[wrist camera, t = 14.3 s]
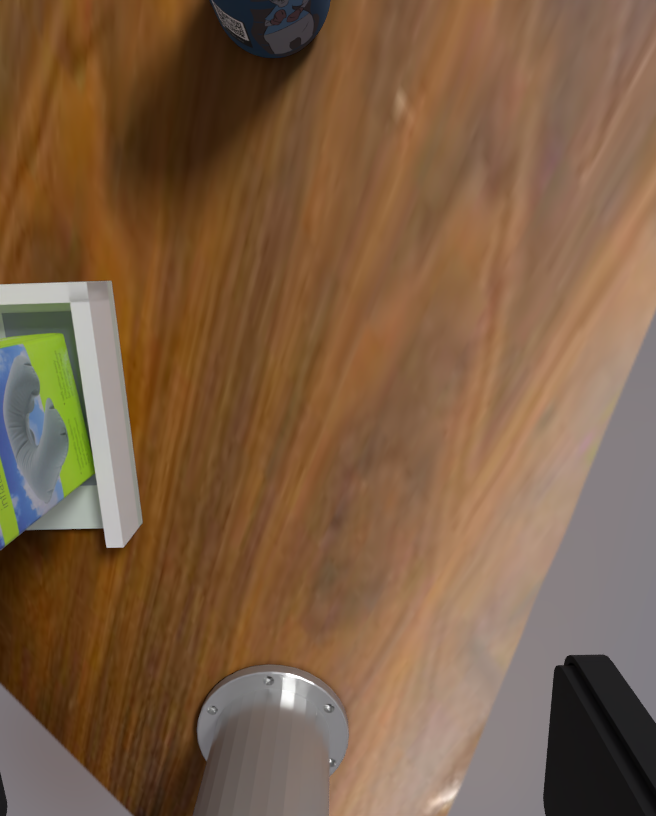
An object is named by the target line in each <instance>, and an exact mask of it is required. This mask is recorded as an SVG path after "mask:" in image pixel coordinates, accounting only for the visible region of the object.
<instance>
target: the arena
mask: <svg viewBox="0 0 656 816" xmlns="http://www.w3.org/2000/svg"><path fill="white" fill-rule="evenodd" d="M45 333H62V334H63V335H64V338H65V343H66V347H67V351H68V355H69V360H70V364H71V368H72V372H73V376H74V380H75V384H76V388H77V392H78V397H79V401H80V405H81V410H82V414H83V418H84V423H85V427H86V431H87V435H88V440H89V444H90V448H91V452H92V456H93V461H94V467H95V474H94V475H93V476H91V477H90V478H89V479H87V480H86V481H85V482H84V483H83V484H81V485H80V486H79V487H78V488H76V489H75V490H74V491H73V492H71V493H70V494H69V495H68V496H66V497H65V498H64V499H63V500H62V501H60V502H59V503H58V504H57V505H56V506H54V507H53V508H52V509H51V510H50V511H48V512H47V513H46V514H45V515H43V516H42V517H41V518H40V519H38V520H37V521H36V522H35V523H33V524H32V525H31V526H30V527H29V528H27V529H26V530H48V529H92V528H104V534H105V541H106V548H122V547H124V546H125V545H126V544H127V542H128V541H129V540H130V538H131V537H132V536H133V535H134V533H135V532H136V531H137V529H138V528H139V527H140V525H141V524H142V523H143V522H142V514H141V506H140V498H139V490H138V483H137V475H136V467H135V459H134V452H133V444H132V436H131V428H130V420H129V413H128V405H127V397H126V389H125V382H124V374H123V366H122V358H121V351H120V343H119V335H118V327H117V319H116V312H115V304H114V296H113V288H112V281H88V282H58V283H27V284H0V339H2V338H7V337H13V336H23V335H34V334H45Z"/></svg>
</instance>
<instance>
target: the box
mask: <svg viewBox="0 0 656 816" xmlns="http://www.w3.org/2000/svg"><path fill="white" fill-rule="evenodd" d="M94 474H95V467H94V461H93V456H92V452H91V448H90V444H89V440H88V435H87V431H86V427H85V423H84V418H83V414H82V410H81V405H80V401H79V397H78V392H77V388H76V384H75V380H74V376H73V372H72V368H71V364H70V360H69V355H68V351H67V347H66V343H65V338H64V335H63V334H62V333H45V334H34V335H23V336H13V337H7V338H2V339H0V550H2V549H3V548H4V547H5V546H7V545H8V544H9V543H10V542H11V541H13V540H14V539H15V538H16V537H18V536H19V535H20V534H21V533H22V532H24V531H25V530H26V529H27V528H29V527H30V526H31V525H32V524H33V523H35V522H36V521H37V520H38V519H40V518H41V517H42V516H43V515H45V514H46V513H47V512H48V511H50V510H51V509H52V508H53V507H54V506H56V505H57V504H58V503H59V502H60V501H62V500H63V499H64V498H65V497H66V496H68V495H69V494H70V493H71V492H73V491H74V490H75V489H76V488H78V487H79V486H80V485H81V484H83V483H84V482H85V481H86V480H87V479H89V478H90V477H91V476H93V475H94Z"/></svg>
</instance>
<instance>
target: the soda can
mask: <svg viewBox="0 0 656 816" xmlns="http://www.w3.org/2000/svg"><path fill="white" fill-rule="evenodd" d="M210 3H211V5H212V7H213V9H214V11H215V13H216V16H217V18H218V20H219V22H220V24H221V26H222V28H223V29H224V31H225V32H226V33H227V35H228V36H229V37H230V38H231V39H232V40H233V41H234V42H235V43H236V44H237V45H238V46H239V47H241V48H242V49H244V50H245V51H247V52H249V53H251V54H254V55H256V56H260V57H265V58H281V57H286V56H289V55H292V54H294V53H296V52H298V51H300V50H301V49H303V48H304V47H305V46H307V45H308V44H309V43H310V42H311V41H312V40H313V39H314V38H315V36H316V35H317V34H318V32H319V31H320V29H321V28H322V26H323V24H324V22H325V19H326V17H327V14H328V10H329V6H330V0H210Z"/></svg>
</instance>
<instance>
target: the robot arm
mask: <svg viewBox="0 0 656 816" xmlns="http://www.w3.org/2000/svg"><path fill="white" fill-rule="evenodd" d="M197 737H198V744H199V747H200V750H201V752H202V755H203V756H204V758H205V760H206V761H207V763H206V767H205V770H204V774H203V778H202V782H201V786H200V789H199V793H198V797H197V801H196V805H195V808H194V812H193V816H329V777H330V776H331V775H332V774H333V773H334V772H335V770H336V769H337V768H338V767H339V765H340V763H341V762H342V760H343V759H344V756H345V753H346V750H347V747H348V738H349V730H348V719H347V715H346V711H345V708H344V707H343V705H342V703H341V701H340V699H339V697H338V696H337V695H336V694H335V692H334V691H333V690H332V689H331V688H330V687H329V686H328V685H327V684H325V683H324V682H323V681H322V680H321V679H319V678H317V677H315V676H314V675H312V674H310V673H308V672H305V671H303V670H300V669H297V668H294V667H289V666H283V665H259V666H252V667H249V668H246V669H242V670H239V671H237V672H235V673H233V674H231V675H229V676H227V677H226V678H224V679H223V680H222V681H221V682H219V683H218V684H217V685H216V686H215V687H214V688H213V689H212V691H211V692H210V693H209V694H208V696H207V698H206V700H205V702H204V704H203V706H202V709H201V712H200V715H199V719H198V725H197ZM543 795H544V796H543V799H544V800H543V801H544V808H545V814H546V816H656V723H655V722H654V720H653V719H652V717H651V716H650V715H649V713H648V712H647V710H646V709H645V707H644V706H643V705H642V704H641V702H640V700H639V699H638V698H637V696H636V695H635V693H634V692H633V690H632V689H631V688H630V686H629V685H628V684H627V682H626V681H625V679H624V678H623V676H622V675H621V674H620V672H619V671H618V669H617V668H616V666H615V665H614V663H613V662H612V661H611V660H610V659H609V657H607V656H605V655H569V656H567V657H566V659H565V663H564V665H558V666H556V667H555V670H554V678H553V690H552V701H551V714H550V725H549V736H548V748H547V760H546V772H545V783H544V794H543ZM6 813H7V800H6V796H5V791H4V787H3V783H2V778H1V774H0V816H6Z"/></svg>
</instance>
